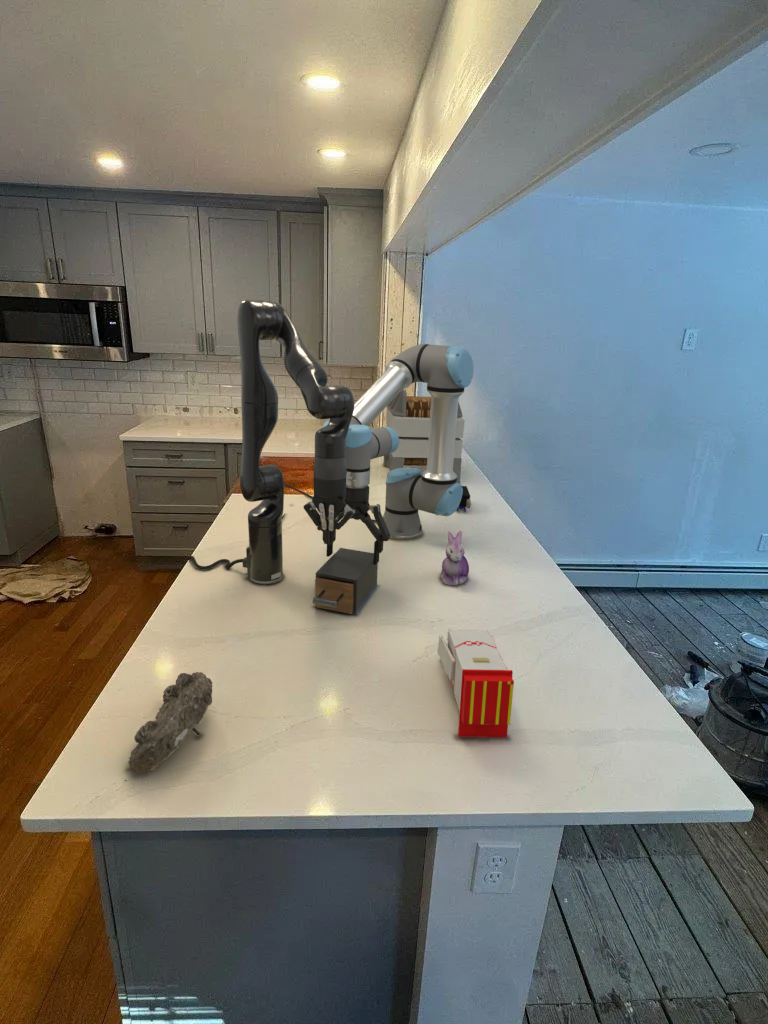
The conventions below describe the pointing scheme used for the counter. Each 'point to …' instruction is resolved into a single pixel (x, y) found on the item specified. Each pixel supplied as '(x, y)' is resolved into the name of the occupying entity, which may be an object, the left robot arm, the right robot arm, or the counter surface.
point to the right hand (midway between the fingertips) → (352, 558)
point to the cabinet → (352, 573)
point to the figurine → (454, 561)
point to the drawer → (334, 595)
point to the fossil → (172, 721)
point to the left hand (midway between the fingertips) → (329, 543)
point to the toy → (478, 682)
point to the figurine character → (464, 499)
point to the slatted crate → (416, 432)
